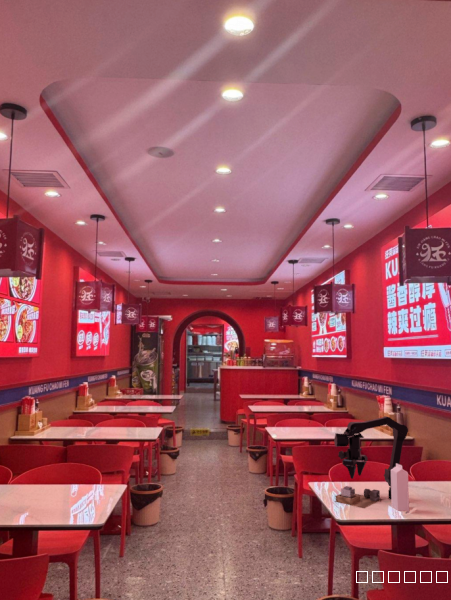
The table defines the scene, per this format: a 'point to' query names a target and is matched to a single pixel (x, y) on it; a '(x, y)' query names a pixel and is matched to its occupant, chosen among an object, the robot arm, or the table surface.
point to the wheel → (367, 493)
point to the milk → (399, 489)
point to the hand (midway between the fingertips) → (355, 477)
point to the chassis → (360, 499)
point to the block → (348, 492)
